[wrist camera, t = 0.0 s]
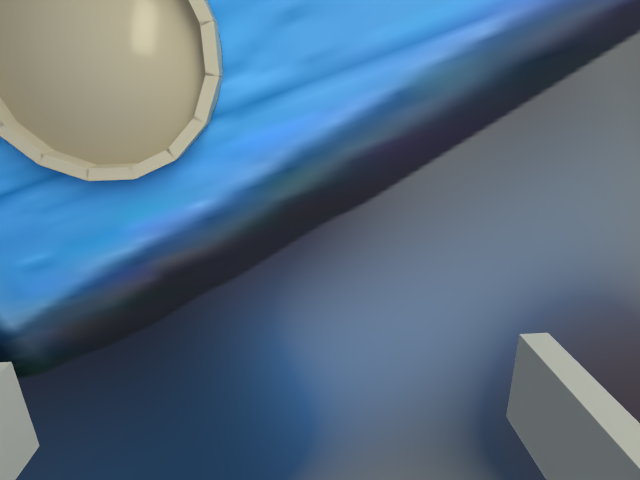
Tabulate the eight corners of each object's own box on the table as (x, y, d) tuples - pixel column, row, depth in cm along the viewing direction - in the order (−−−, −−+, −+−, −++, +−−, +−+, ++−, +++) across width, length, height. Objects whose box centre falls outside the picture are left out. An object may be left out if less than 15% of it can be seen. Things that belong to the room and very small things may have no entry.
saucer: (-66, -91, 30) (-97, -106, 27) (208, -93, 30) (200, -108, 28) (10, 178, 36) (-10, 184, 34) (233, 170, 37) (229, 175, 35)
